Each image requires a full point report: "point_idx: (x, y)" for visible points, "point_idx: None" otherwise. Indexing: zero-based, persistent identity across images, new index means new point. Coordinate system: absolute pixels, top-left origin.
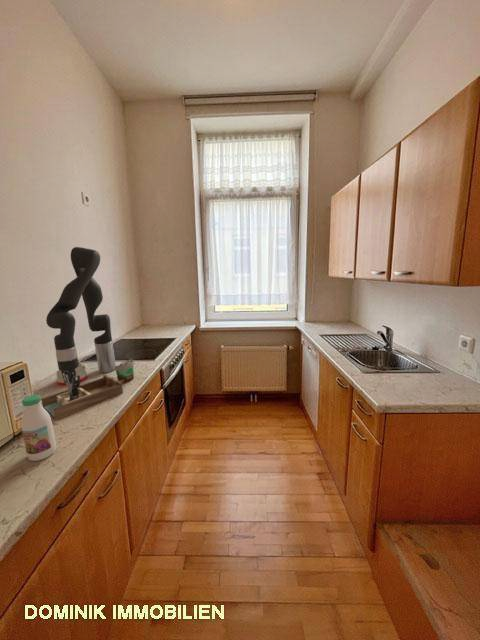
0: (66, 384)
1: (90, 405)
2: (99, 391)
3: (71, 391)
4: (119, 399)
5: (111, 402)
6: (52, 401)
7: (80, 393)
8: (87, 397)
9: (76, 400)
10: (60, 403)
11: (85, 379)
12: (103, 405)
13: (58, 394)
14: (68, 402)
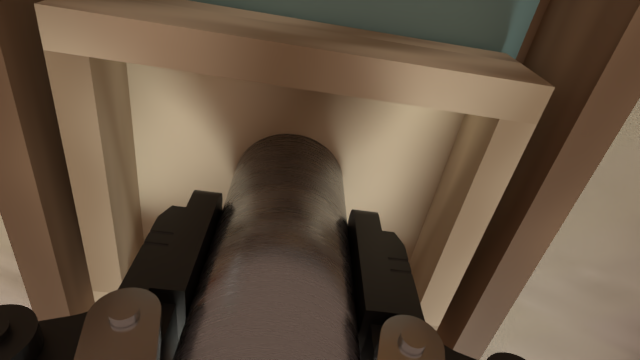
0: (407, 346)
1: None
2: None
3: (219, 243)
4: None
5: (15, 295)
6: (565, 11)
7: None
8: (15, 252)
9: (20, 143)
10: (374, 35)
11: None
12: (5, 244)
13: (560, 134)
14: (63, 48)
